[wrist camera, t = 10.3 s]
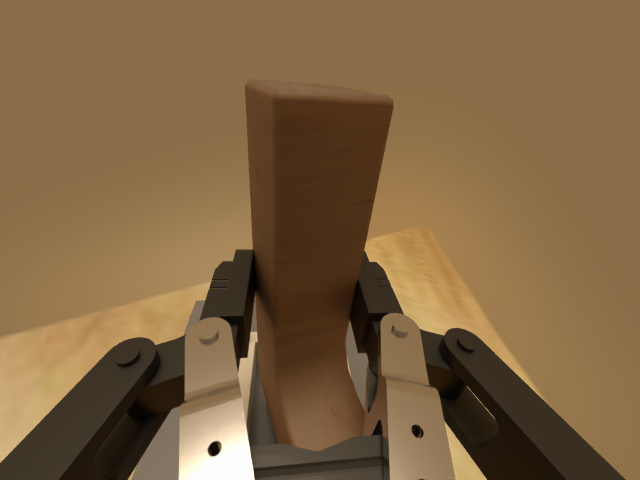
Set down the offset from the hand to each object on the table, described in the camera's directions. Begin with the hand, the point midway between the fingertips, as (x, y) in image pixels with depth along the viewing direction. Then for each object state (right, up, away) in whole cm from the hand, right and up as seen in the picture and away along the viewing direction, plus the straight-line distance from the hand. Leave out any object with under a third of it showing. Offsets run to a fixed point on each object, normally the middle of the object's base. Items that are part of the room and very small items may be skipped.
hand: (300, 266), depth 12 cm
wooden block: (0, -8, +2) cm, 9 cm away
